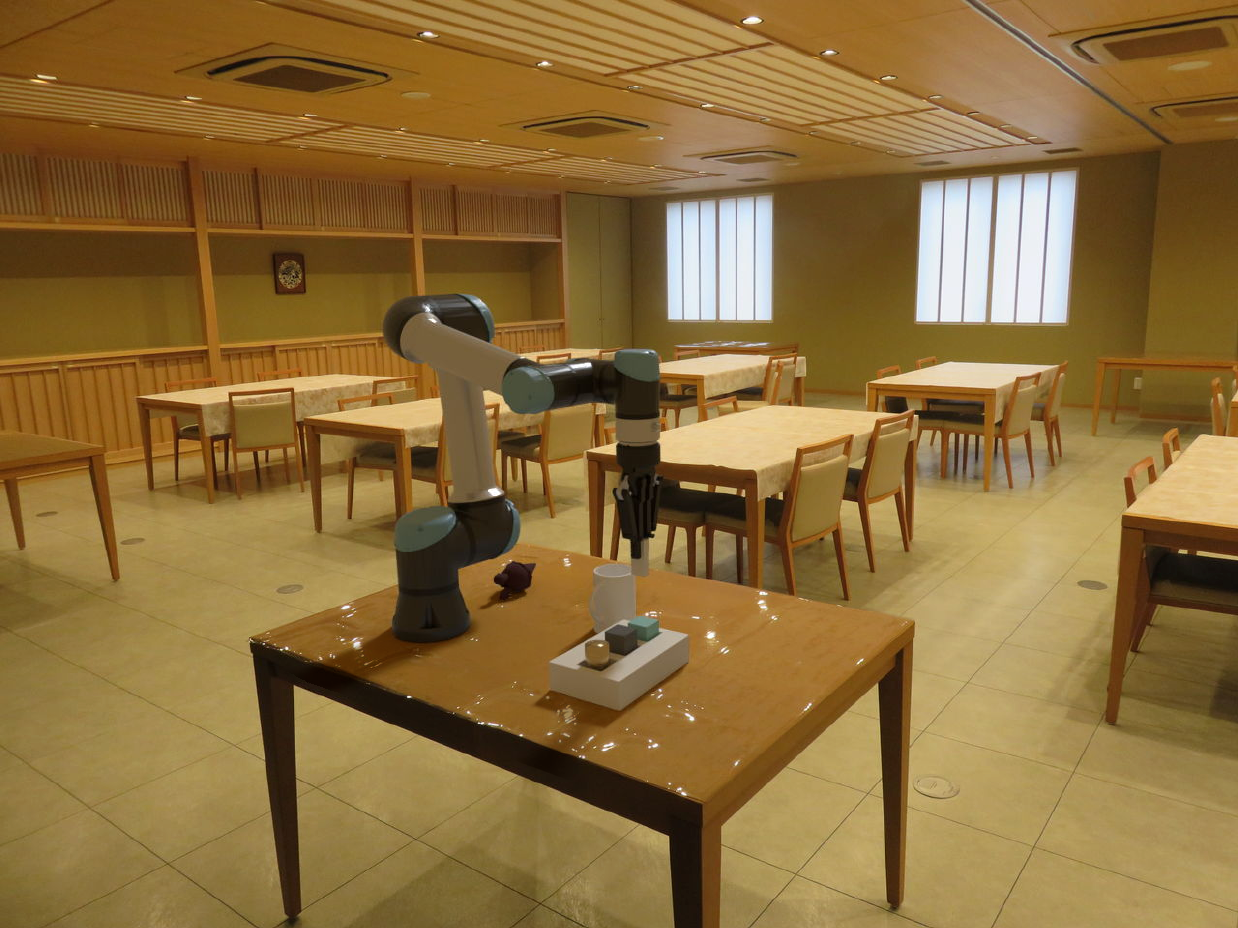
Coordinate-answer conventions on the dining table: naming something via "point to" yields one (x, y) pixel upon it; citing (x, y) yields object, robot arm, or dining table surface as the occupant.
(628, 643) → the dark grey cube
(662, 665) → the white slotted tray
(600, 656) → the gold metal cylinder
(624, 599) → the mug
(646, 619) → the teal cube
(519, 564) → the dark purple knobbly piece
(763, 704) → the dining table surface
